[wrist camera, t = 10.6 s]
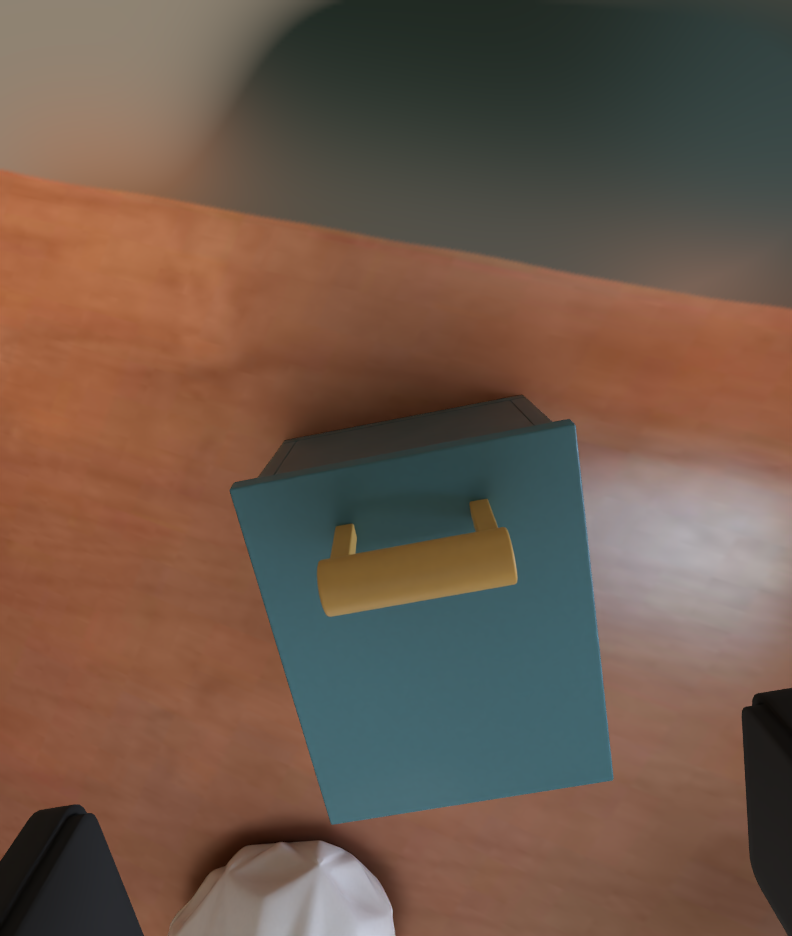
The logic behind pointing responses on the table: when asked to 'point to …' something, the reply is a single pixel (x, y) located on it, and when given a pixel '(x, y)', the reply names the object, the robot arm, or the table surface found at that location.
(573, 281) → the table surface
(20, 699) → the table surface
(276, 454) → the chest
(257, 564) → the lid
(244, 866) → the vase
